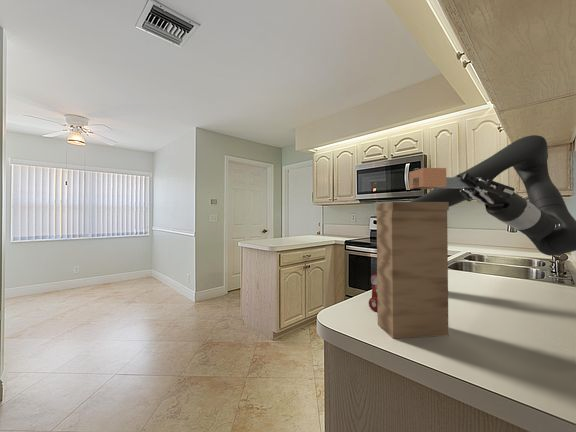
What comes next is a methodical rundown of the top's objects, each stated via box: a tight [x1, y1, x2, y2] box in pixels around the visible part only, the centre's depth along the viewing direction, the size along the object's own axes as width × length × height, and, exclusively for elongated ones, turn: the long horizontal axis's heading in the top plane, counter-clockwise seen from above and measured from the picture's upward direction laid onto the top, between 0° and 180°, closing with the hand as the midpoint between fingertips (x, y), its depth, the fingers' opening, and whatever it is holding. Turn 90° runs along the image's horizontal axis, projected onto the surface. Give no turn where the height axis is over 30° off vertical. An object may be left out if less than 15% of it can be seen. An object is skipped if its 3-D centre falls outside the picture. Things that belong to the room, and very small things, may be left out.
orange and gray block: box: [408, 167, 482, 190], centre depth 67 cm, size 6×17×4 cm, turn 96°
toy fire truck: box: [368, 274, 378, 312], centre depth 78 cm, size 7×12×10 cm, turn 31°
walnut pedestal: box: [375, 201, 450, 340], centre depth 66 cm, size 9×14×32 cm, turn 96°
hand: (459, 177), depth 67 cm, fingers closed on orange and gray block, 2 cm apart
